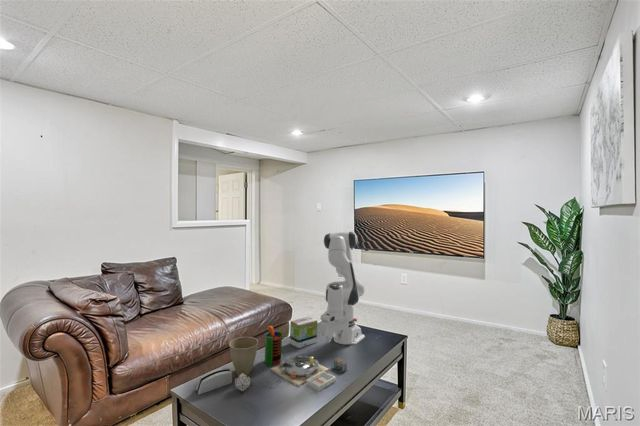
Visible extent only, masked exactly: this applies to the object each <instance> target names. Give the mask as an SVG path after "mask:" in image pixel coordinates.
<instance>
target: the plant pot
mask: <svg viewBox="0 0 640 426" xmlns="http://www.w3.org/2000/svg"><path fill="white" fill-rule="evenodd" d="M228 345H229V352H230V357H231V361H232V364H233V368H234V370H235V373H236V374H237V375H238V376H239V375H240V374H241V373H242V371H243V373H244V374H246V375H249V374H251V371H252V369H253V366H254V363H255V361H256V356H257V352H258V346H259V340H258V339H257V338H255V337H252V336H240V337H236V338H233V339H232V340H231V341H229V344H228Z"/></svg>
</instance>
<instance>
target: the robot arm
mask: <svg viewBox="0 0 640 426" xmlns="http://www.w3.org/2000/svg"><path fill="white" fill-rule="evenodd" d="M358 242H359V241H358V236H357V234H356V232H354V231H340V232H338V231H337V232H333V233H332V232H331V233H330V232H329V233H327V234H325V235H324V237H323V244H324V247H325V248H326V249H328V253H327V255H328V262H329V264H330V265H331V266H332V267H334V268H335V271H336V273H337V274H338V275H339V276H341V277H343V278H344V281H333V282H330V283H327V285H326V288H325V301H326V303H327V308H326V311H325V312H324V313H322V314H321V315H320V317H319V318H320V320H321V321H320V323H319V333H320V336H323V337H325V338H326V342H327V343H331V342H332V338H330V337H331V335H332V334H333V335H332V336H333V341H334V342H335V343H337V344H340V345H353V346H355V345H357V344H358V343H359V342H361V341H363V339H364V338H365V337H366V336H365V334H363V333H362V328H361V327H360V326H358V325H357V324H356V323H357V322H358V318H354V307H353V306H355V305H356V304H357V303H358V302H359V301H360V297H362V296H363V295H364V293H365V285H364V284H363V283H362V282H361V281H360V280H359V279H358V277H357V276H356V275H355V271H354V267H353V253H352V250H354V249H355V248H356V247H357V244H358Z"/></svg>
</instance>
